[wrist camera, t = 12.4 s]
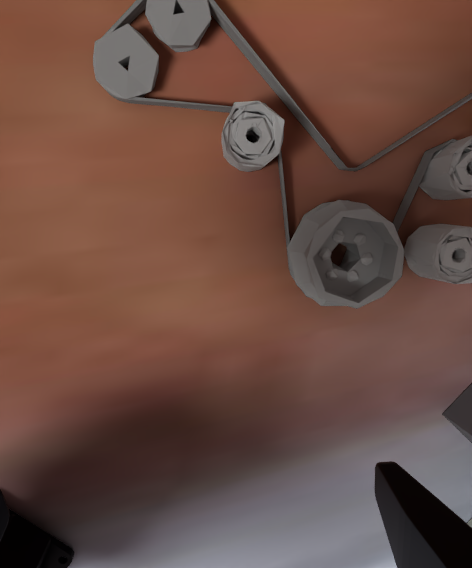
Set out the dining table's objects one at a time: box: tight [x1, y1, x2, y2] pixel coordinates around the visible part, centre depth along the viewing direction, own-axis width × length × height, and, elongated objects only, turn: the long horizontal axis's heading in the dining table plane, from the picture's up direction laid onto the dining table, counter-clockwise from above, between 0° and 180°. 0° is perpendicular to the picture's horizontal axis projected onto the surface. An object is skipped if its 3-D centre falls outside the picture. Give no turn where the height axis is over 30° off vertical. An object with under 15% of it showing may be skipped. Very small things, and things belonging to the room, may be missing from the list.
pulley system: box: [93, 0, 472, 309], centre depth 18 cm, size 27×5×15 cm
